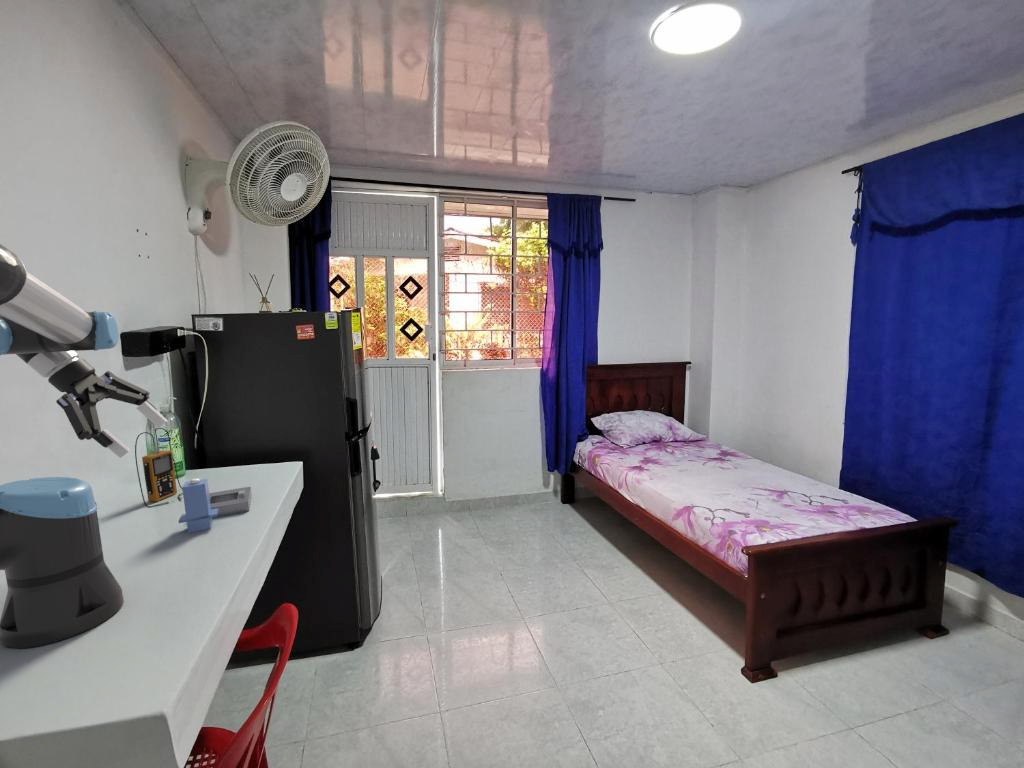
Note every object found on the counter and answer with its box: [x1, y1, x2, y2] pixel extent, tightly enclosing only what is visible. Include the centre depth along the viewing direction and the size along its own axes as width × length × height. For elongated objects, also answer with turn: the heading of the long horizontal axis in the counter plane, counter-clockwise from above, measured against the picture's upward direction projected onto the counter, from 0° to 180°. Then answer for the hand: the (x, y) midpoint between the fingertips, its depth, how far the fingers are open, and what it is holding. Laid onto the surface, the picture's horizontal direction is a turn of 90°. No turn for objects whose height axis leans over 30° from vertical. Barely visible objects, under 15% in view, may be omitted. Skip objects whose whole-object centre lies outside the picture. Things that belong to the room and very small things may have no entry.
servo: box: [178, 478, 219, 534], centre depth 118 cm, size 4×8×12 cm, turn 115°
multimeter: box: [134, 427, 183, 508], centre depth 140 cm, size 15×10×20 cm
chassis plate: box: [209, 486, 253, 517], centre depth 132 cm, size 14×12×3 cm
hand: (145, 438), depth 114 cm, fingers open, 13 cm apart
